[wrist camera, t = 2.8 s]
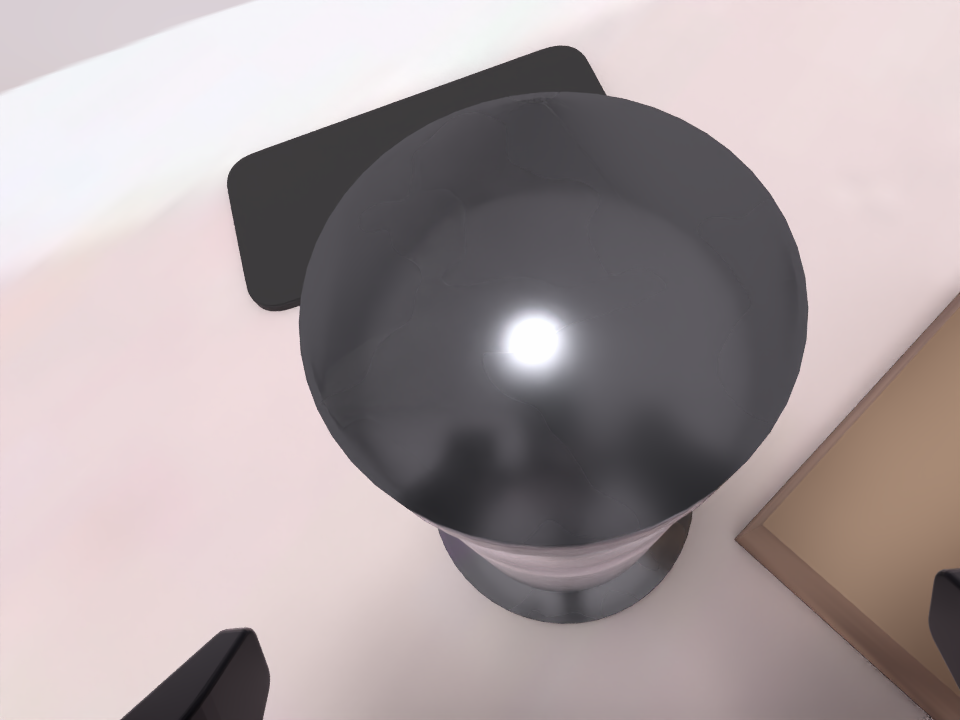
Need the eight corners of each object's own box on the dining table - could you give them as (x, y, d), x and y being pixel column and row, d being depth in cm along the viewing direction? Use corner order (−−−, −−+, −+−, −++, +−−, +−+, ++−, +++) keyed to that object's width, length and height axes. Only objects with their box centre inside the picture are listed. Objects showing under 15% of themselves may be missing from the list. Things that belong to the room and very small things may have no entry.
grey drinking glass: (743, 490, 19) (1017, 269, 7) (563, 685, 18) (543, 797, 6) (557, 329, 22) (538, -22, 10) (388, 488, 21) (139, 301, 9)
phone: (221, 162, 26) (574, 35, 26) (231, 174, 27) (574, 51, 27) (251, 317, 23) (650, 175, 23) (262, 326, 24) (647, 189, 24)
